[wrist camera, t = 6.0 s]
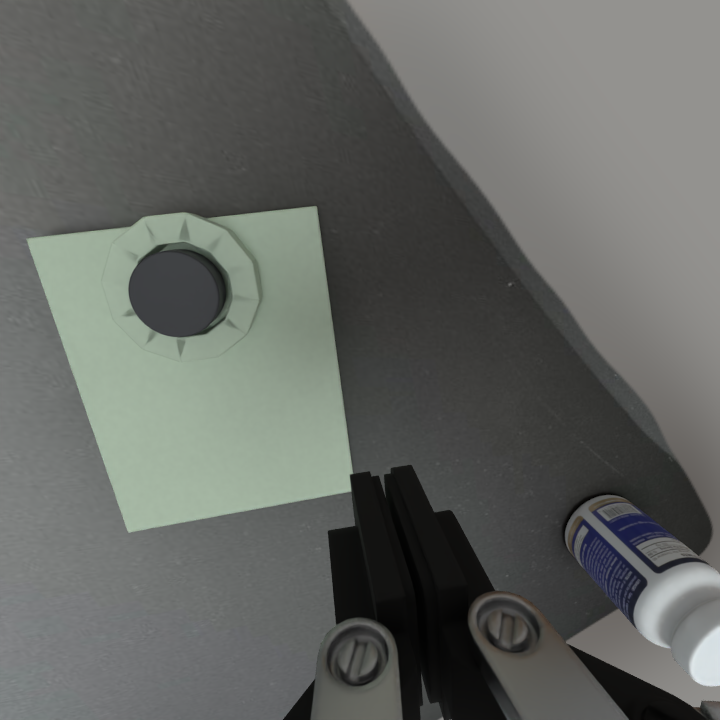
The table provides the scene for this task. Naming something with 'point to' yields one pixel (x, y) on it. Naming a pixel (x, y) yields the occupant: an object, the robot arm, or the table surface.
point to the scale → (206, 366)
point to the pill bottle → (651, 581)
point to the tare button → (177, 292)
